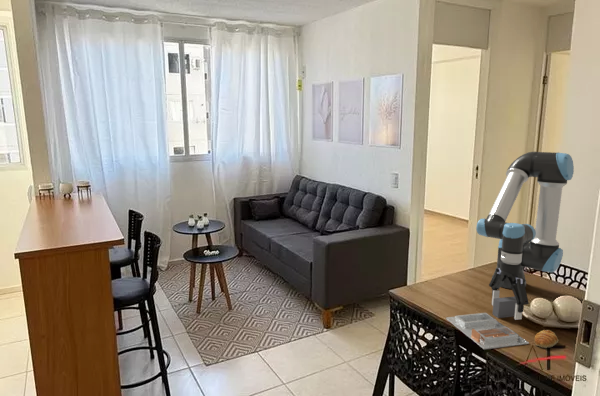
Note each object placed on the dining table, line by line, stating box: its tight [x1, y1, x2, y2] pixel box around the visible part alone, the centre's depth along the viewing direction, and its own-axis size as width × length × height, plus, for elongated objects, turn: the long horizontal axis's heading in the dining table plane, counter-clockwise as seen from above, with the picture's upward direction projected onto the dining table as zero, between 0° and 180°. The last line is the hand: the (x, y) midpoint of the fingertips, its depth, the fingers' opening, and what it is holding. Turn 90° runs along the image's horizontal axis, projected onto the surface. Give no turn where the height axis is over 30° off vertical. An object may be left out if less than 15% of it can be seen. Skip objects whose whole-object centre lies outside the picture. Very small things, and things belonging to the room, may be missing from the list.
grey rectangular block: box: [492, 295, 517, 319], centre depth 173 cm, size 10×4×7 cm, turn 103°
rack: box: [445, 312, 530, 351], centre depth 160 cm, size 18×24×4 cm
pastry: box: [534, 329, 560, 349], centre depth 151 cm, size 9×7×4 cm
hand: (505, 311), depth 173 cm, fingers open, 13 cm apart
